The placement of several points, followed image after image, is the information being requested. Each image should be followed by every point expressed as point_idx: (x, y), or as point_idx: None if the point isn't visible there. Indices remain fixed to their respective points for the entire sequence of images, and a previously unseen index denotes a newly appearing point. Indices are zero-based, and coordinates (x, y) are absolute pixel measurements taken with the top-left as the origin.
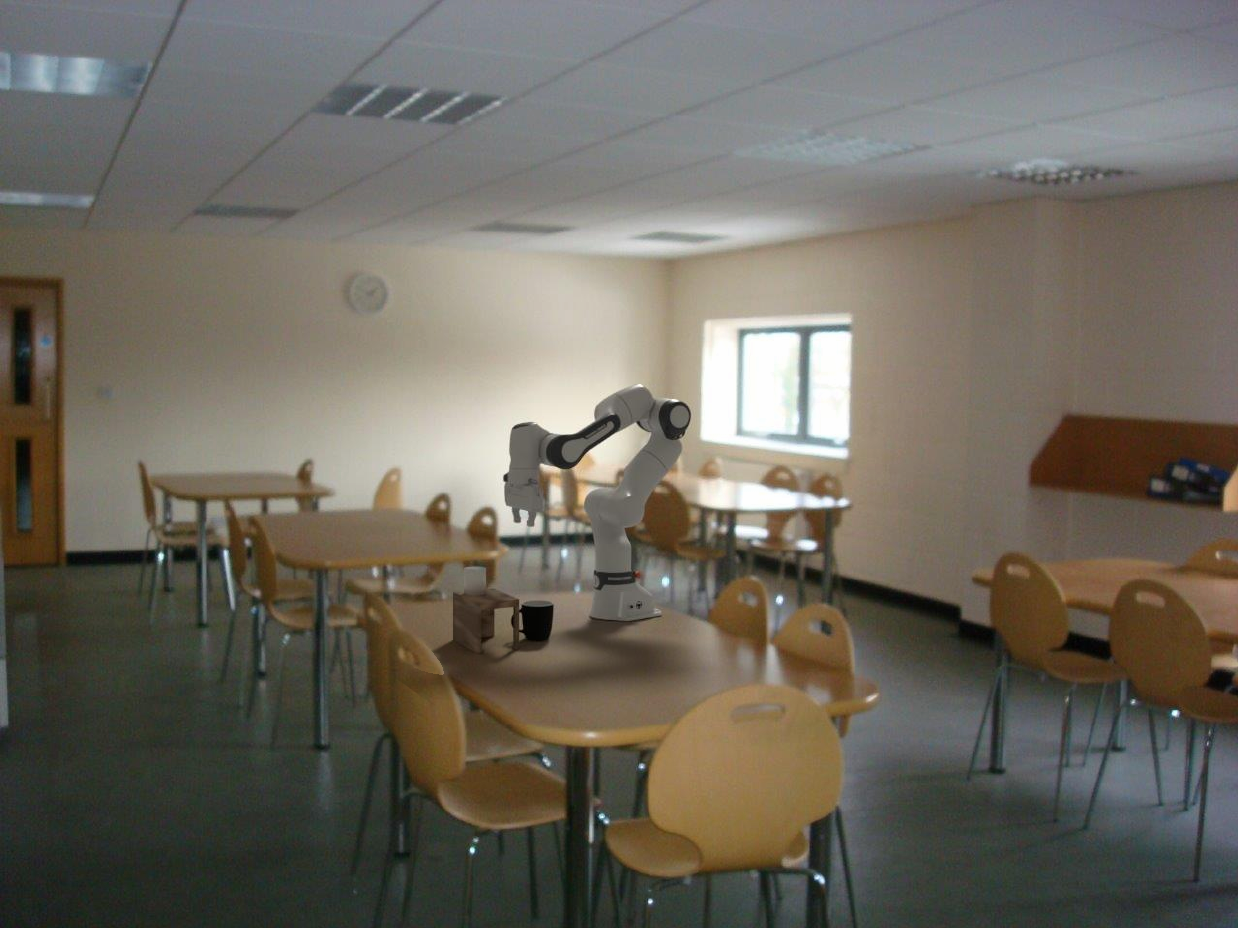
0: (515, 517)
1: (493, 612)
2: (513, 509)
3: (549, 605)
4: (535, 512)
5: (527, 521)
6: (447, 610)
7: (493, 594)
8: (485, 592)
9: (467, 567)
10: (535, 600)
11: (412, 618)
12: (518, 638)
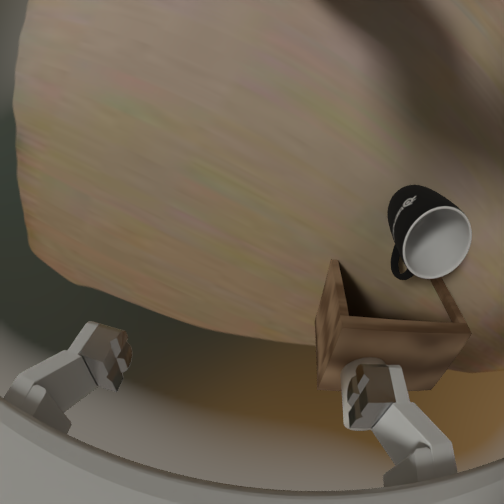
0: (116, 390)
1: (343, 291)
2: (65, 431)
3: (471, 235)
4: (449, 468)
5: (361, 421)
6: (82, 222)
7: (401, 352)
8: (384, 363)
9: (348, 424)
10: (411, 229)
11: (128, 295)
12: (444, 284)
